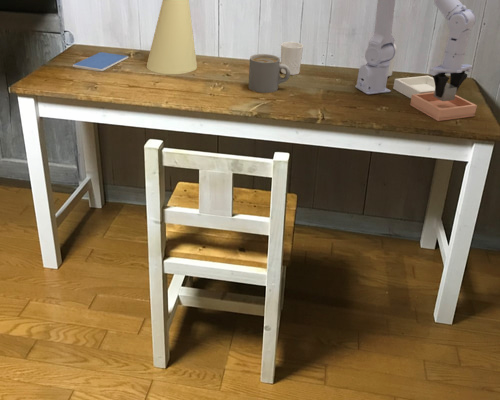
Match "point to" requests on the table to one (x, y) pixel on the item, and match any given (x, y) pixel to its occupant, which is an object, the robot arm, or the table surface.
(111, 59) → the blue notebook
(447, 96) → the gray cube
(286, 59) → the white cup
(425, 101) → the bin
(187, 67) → the cone light
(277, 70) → the coffee mug
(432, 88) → the tub
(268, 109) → the table surface
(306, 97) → the table surface
